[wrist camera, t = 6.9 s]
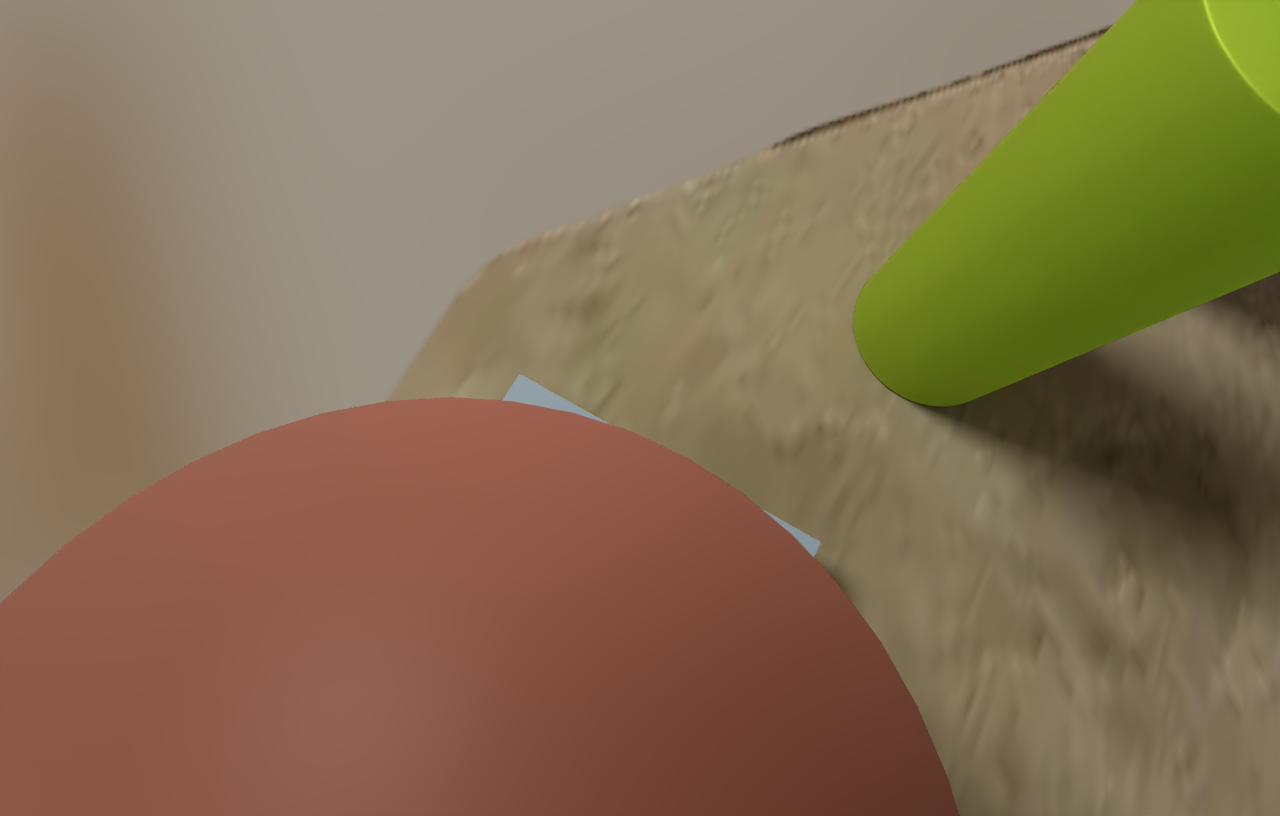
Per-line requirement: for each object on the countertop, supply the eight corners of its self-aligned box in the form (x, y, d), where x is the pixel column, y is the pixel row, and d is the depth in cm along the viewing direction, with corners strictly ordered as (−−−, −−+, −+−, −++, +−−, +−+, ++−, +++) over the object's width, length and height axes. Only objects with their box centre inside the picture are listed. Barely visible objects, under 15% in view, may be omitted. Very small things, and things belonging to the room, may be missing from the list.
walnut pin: (670, 714, 15) (1106, 1819, 2) (482, 720, 15) (-542, 2068, 2) (665, 524, 16) (912, 396, 3) (490, 526, 16) (-57, 397, 3)
